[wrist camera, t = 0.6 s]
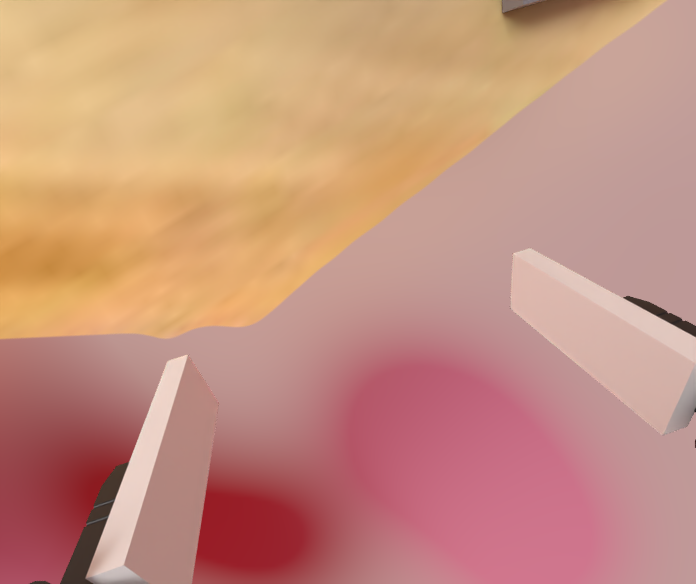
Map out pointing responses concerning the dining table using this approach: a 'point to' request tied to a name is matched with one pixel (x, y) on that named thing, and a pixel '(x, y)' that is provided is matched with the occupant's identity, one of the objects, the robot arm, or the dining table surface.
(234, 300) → the dining table surface
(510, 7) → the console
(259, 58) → the dining table surface
